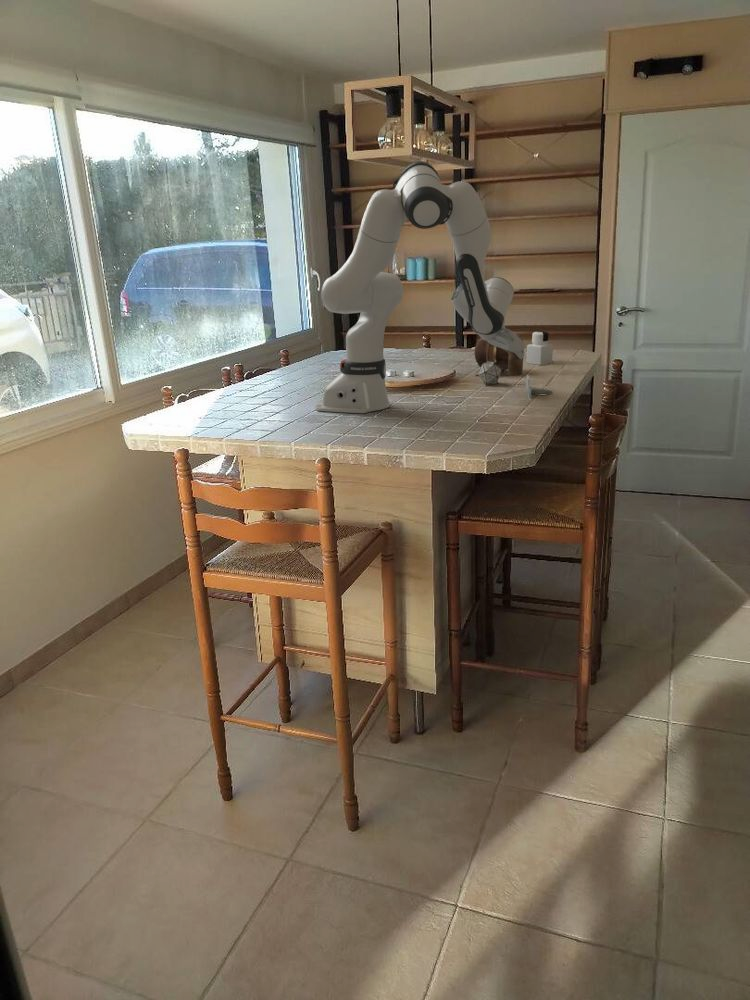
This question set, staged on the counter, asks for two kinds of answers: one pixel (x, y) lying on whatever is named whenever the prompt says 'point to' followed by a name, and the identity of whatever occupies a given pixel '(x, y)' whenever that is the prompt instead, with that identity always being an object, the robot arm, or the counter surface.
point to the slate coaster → (540, 391)
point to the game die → (489, 372)
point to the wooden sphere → (491, 354)
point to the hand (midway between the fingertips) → (517, 355)
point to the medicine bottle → (539, 349)
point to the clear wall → (528, 386)
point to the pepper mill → (515, 363)
